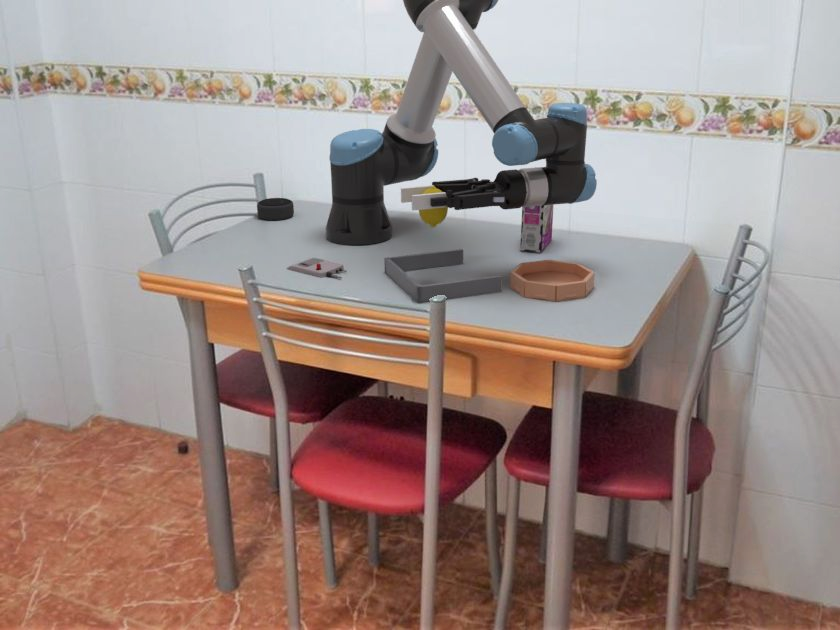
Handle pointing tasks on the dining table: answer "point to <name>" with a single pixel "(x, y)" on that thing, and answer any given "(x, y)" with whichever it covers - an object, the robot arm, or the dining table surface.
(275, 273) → the dining table surface
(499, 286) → the grey u-shaped fence
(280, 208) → the smart speaker
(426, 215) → the lemon
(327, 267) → the moisture meter
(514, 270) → the bowl
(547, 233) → the candy bar box
